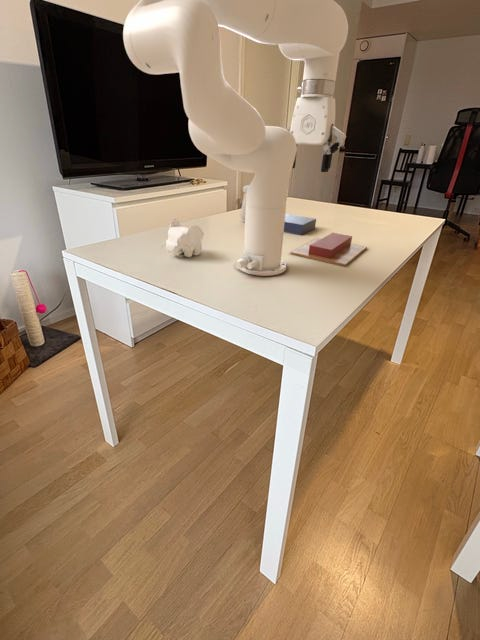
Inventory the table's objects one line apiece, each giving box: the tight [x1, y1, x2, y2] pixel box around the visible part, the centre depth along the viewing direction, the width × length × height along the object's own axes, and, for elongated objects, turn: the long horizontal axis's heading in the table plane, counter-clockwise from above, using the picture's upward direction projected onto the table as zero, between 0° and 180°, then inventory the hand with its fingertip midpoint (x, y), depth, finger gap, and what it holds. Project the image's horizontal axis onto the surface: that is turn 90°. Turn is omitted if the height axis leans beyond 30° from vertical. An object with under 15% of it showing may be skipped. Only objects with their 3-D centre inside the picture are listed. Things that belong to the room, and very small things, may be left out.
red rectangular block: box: [308, 232, 353, 258], centre depth 102 cm, size 18×6×2 cm, turn 146°
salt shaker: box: [239, 184, 250, 224], centre depth 128 cm, size 6×6×13 cm
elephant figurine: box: [160, 218, 205, 258], centre depth 92 cm, size 10×12×9 cm
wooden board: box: [290, 237, 367, 267], centre depth 102 cm, size 20×16×1 cm
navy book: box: [284, 213, 317, 236], centre depth 125 cm, size 12×17×4 cm
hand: (307, 170), depth 89 cm, fingers open, 9 cm apart
